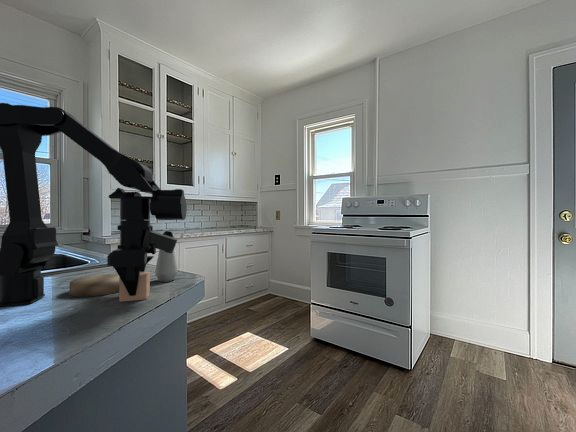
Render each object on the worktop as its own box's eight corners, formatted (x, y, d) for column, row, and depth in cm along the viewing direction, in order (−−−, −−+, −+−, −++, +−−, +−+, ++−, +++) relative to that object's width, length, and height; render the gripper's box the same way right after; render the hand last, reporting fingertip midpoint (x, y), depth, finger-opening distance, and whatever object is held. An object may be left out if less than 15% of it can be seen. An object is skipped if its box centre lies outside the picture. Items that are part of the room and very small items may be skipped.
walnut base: (59, 298, 60) (59, 286, 60) (80, 285, 71) (80, 275, 71) (123, 293, 64) (123, 282, 64) (134, 282, 75) (134, 272, 75)
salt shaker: (172, 282, 75) (172, 233, 75) (151, 282, 75) (150, 233, 75) (181, 277, 81) (181, 232, 81) (161, 277, 81) (161, 232, 81)
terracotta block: (119, 301, 58) (119, 277, 58) (124, 295, 62) (124, 272, 63) (146, 299, 59) (146, 275, 59) (149, 293, 64) (149, 271, 64)
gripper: (172, 220, 55) (172, 300, 55) (177, 219, 72) (177, 280, 72) (106, 220, 51) (106, 306, 51) (128, 220, 69) (128, 283, 69)
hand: (135, 292), depth 61 cm, fingers closed on terracotta block, 5 cm apart
